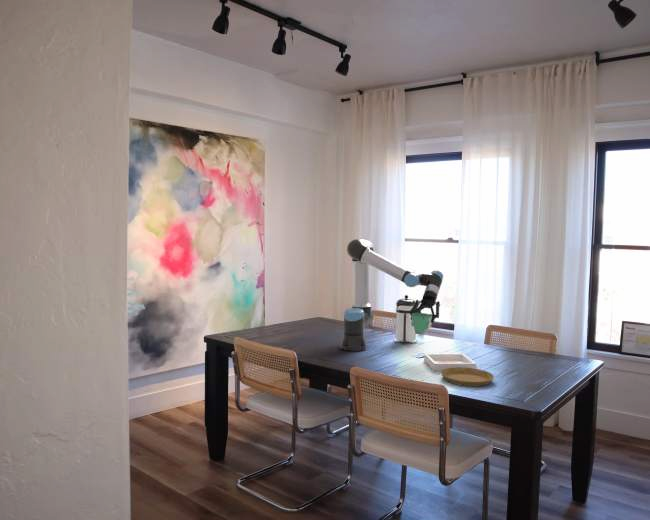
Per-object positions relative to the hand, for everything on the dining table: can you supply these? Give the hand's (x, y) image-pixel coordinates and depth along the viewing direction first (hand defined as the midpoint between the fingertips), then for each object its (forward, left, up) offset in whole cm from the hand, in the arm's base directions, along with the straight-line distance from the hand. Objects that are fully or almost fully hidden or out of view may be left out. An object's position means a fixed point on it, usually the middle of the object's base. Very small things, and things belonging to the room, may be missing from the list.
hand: (420, 326), depth 286 cm
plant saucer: (+14, -39, -19) cm, 46 cm away
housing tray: (+13, -13, -19) cm, 26 cm away
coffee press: (+3, +47, -19) cm, 51 cm away
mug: (+2, +3, -4) cm, 5 cm away
